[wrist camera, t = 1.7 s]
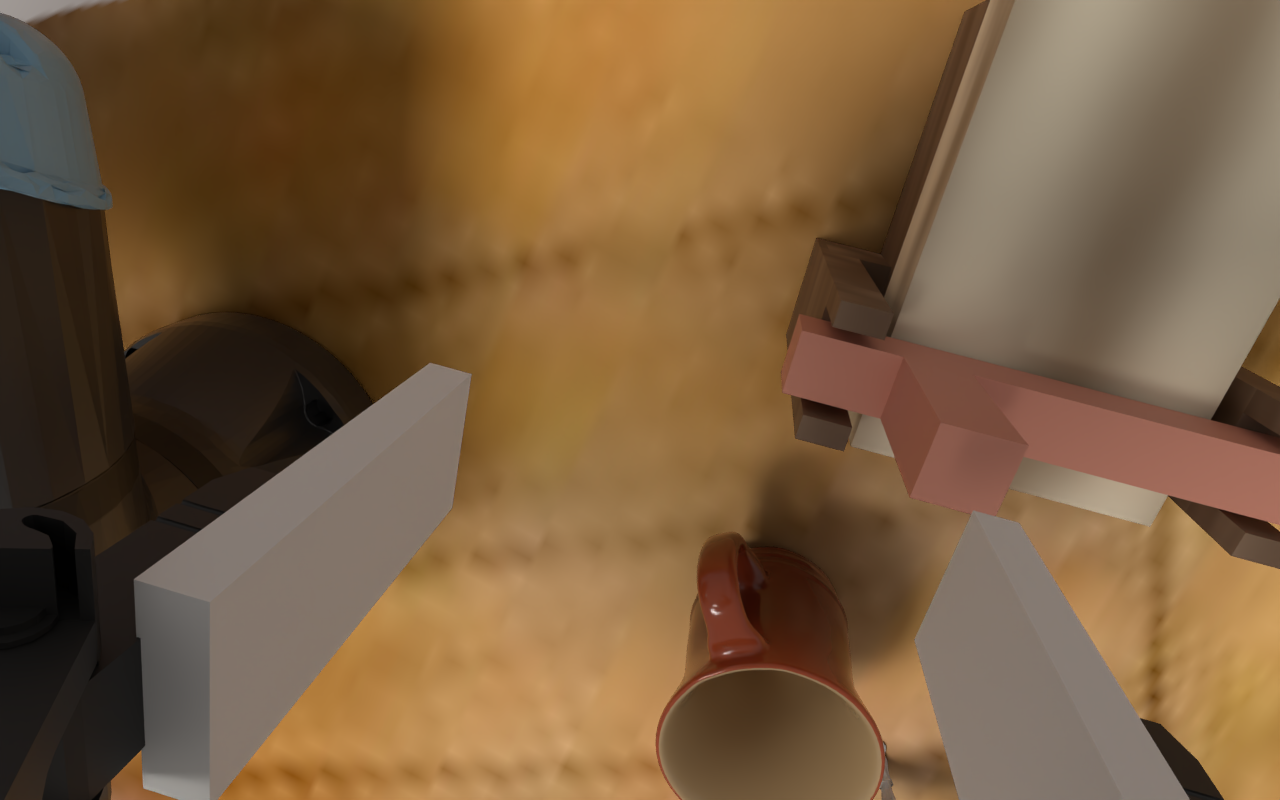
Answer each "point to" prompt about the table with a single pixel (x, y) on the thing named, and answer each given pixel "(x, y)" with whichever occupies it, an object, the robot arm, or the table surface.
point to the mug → (767, 686)
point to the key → (1023, 426)
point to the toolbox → (854, 301)
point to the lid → (1102, 211)
